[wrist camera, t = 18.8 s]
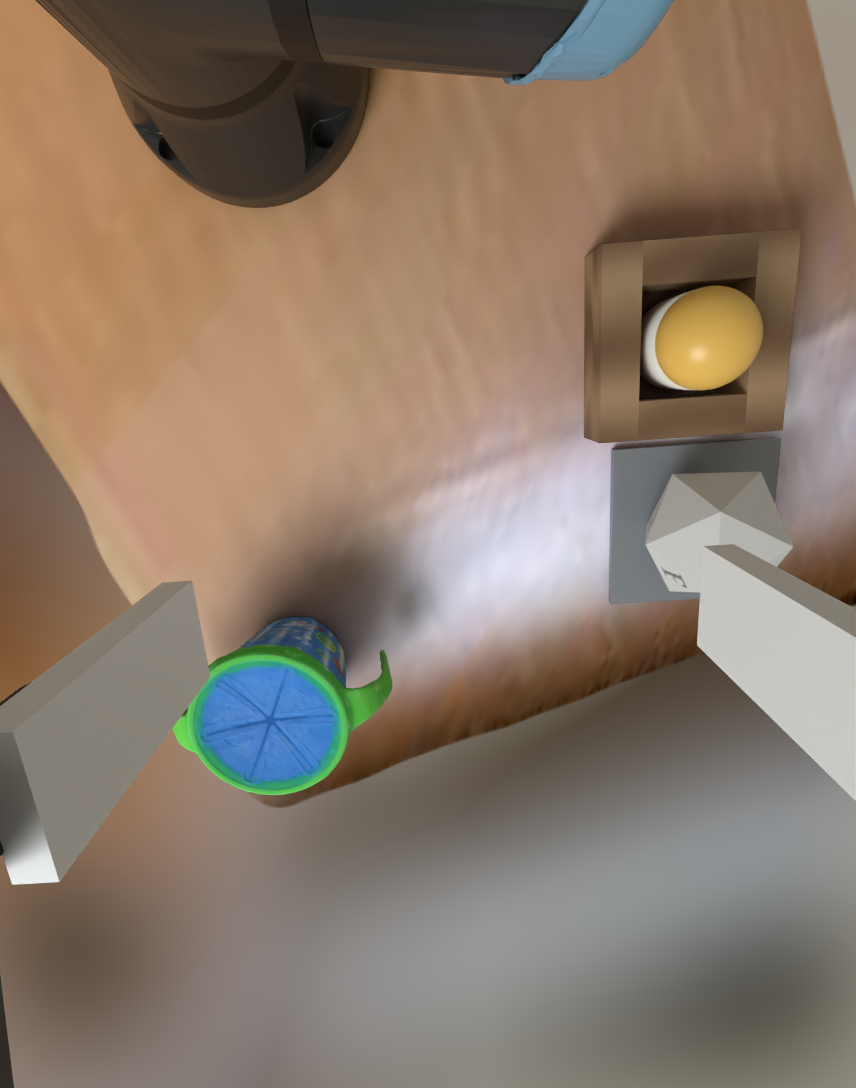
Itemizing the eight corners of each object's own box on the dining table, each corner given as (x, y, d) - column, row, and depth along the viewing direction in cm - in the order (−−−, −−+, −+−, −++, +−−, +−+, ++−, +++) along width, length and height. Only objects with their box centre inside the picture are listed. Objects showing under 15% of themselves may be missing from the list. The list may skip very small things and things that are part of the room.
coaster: (611, 449, 42) (613, 450, 42) (776, 437, 42) (781, 438, 41) (608, 601, 45) (611, 604, 45) (761, 591, 45) (765, 594, 45)
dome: (633, 300, 38) (679, 281, 31) (723, 293, 38) (790, 273, 31) (631, 392, 40) (674, 394, 33) (717, 386, 40) (780, 387, 33)
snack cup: (391, 589, 45) (381, 647, 35) (400, 707, 48) (393, 791, 38) (194, 600, 45) (130, 660, 36) (215, 717, 48) (161, 802, 39)
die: (628, 459, 42) (622, 563, 36) (765, 422, 37) (785, 535, 31) (664, 534, 47) (664, 637, 41) (790, 509, 42) (812, 622, 36)
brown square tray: (584, 257, 39) (602, 244, 35) (764, 243, 38) (801, 228, 35) (584, 437, 42) (600, 443, 38) (749, 425, 42) (782, 430, 38)
